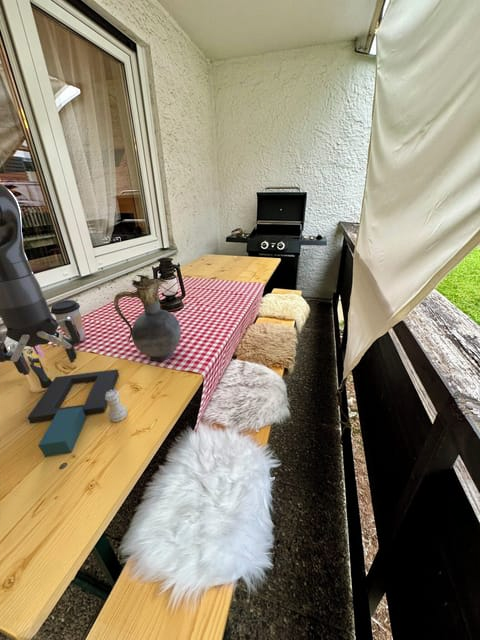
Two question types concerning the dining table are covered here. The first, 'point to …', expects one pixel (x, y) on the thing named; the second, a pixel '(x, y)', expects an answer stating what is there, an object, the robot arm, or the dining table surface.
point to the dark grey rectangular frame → (62, 386)
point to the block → (62, 432)
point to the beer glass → (35, 367)
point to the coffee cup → (71, 310)
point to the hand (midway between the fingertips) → (50, 366)
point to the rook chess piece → (115, 406)
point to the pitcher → (151, 321)
